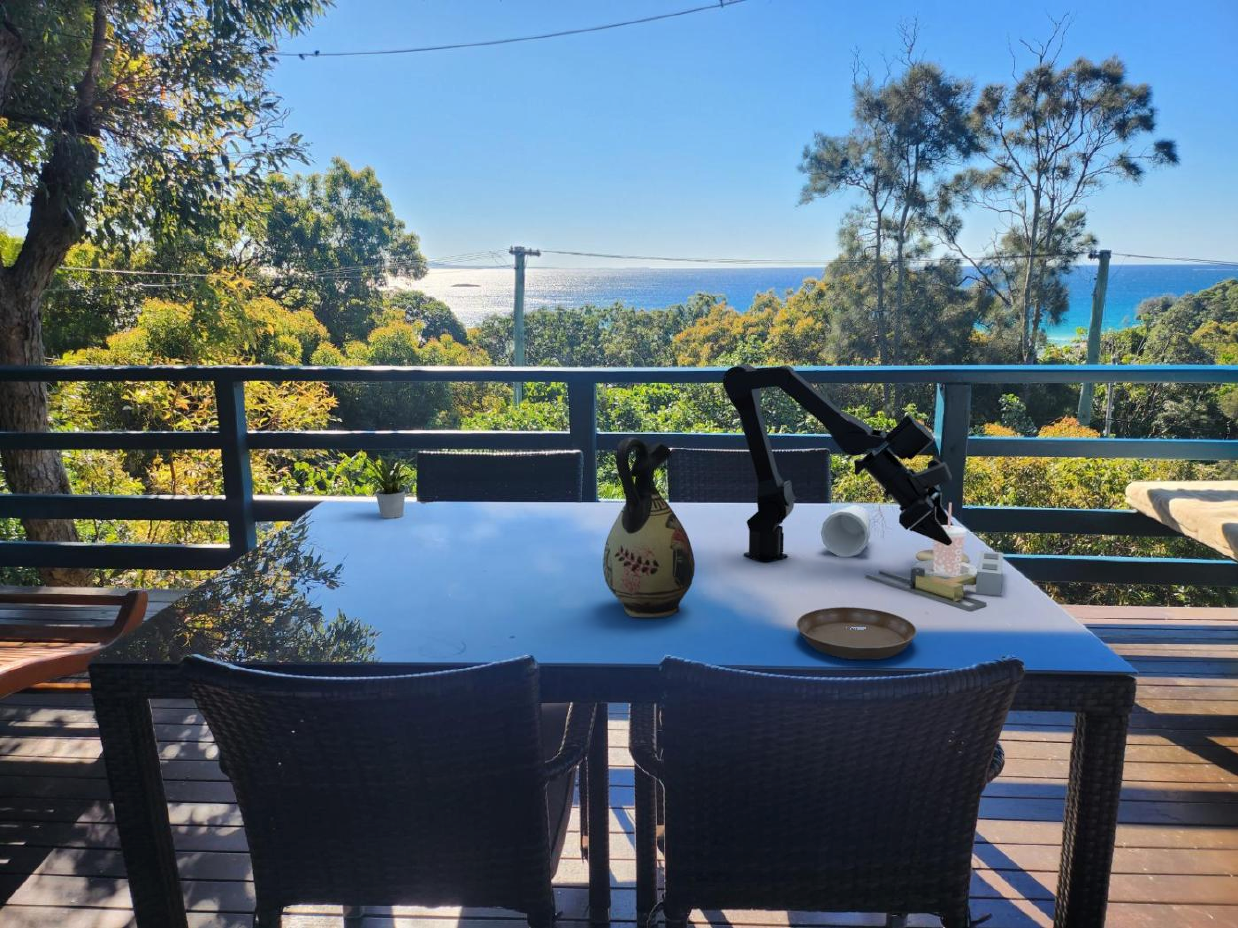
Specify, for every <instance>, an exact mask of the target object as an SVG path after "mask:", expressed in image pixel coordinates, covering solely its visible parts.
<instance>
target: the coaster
mask: <svg viewBox="0 0 1238 928" xmlns="http://www.w3.org/2000/svg"><path fill="white" fill-rule="evenodd" d="M915 556H916V557H915V558H916V559H917V560H918V561H919V562H920V561H927V560H934V551H933V549H923V550H920V551H917V552H916V554H915ZM961 562H964V563H967V564H969V562H970V557H969V556H968V555H967V554H965V553H962V561H961Z"/></svg>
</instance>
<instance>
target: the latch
mask: <svg viewBox="0 0 1238 928" xmlns="http://www.w3.org/2000/svg"><path fill="white" fill-rule="evenodd" d="M909 579H910V583H909V587H911V588H914V589H917V590H920V591H923V592H927V593H930V594H933V595H936V596H939V597H942V598H946V599H949V600H952V601H955V602H958V601H961V599H963V595H964V585H969V586H971V587H972V586H976V580H977V576H973V575H970V574H964V575H961V576H957V577H953V578H950V579H943V578H939V577H936V576H932V575H929V574H926V573H925V569H923V568H918V567H916V566H914V567H911V568H910V578H909ZM965 583H966V584H965Z"/></svg>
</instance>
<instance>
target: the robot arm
mask: <svg viewBox="0 0 1238 928" xmlns="http://www.w3.org/2000/svg"><path fill="white" fill-rule="evenodd" d="M722 386H723V388H724V390H725V393H726V395H727V397H728V399H729V401H730V402H731V404H732V405H733V407H734V408H735V410H736V411H737V413H738V415H739V418H740V422H741V426H742V430H743V433H744V437H745V441H746V444H747V448H748V451H749V454H750V455H749V457H750V459H751V463H752V466H753V470H754V473H755V477H756V481H757V482H756V483H757V484H756V485H757V486H756V505H757V511H756V512H755V513H754V514H753V515H752V516H750V517H749V519H747V520H746V525H747V528H748V551H747V552H744V553H743V556H744V557H747V558H750V559H753V560H756V561H759V562H763V563H769V562H772V561H776V560H777V561H778V560H782V559H786V558H788V554H786V553H784V532H783V531H784V530H783V527H784V526H782V523H783V522H784V520H785V519H787V517H789V515H790V514H791V513H792V512H793V509H794V506H795V500H796V499H797V497H796V496H795V495H794V492H793V488H792V487H793V485H792V481H791V480H786V481H784V480H783V478H782V477H781V476H780V474H779V472H778V467H777V465H776V464H777V463H776V460H775V457H774V453H773V450H772V446H771V442H770V438H769V434H768V430H767V427H766V424H765V420H764V417H763V416H764V415H763V413H762V409H761V389H766V388H767V389H768V388H775V387H778V388H780V389H781V390H782V391H783V392H785V393H786V395H788V396H789V397H790V398H792V399H793V401H795V402H796V403H797V404H799V405H800V406H801V407H802V408H803V409H804V410H806V411H807V412H808V413H809V414H810V415H811V416H812V417H814V418H815V419H816V420H817V422H820V423H821V425H823V426H824V428H825V429H826V430H827V431H828V433H829V434H830V436H831V438H832V440H833V441H834V442H835V443H836V444H837V446H838V447H839V448H840V450H842V451H843V453H845V454H847V456H851V457H853V456H854V457H856V456H857V457H858V456H861V455H863V454H865V453H866V452H867V451H868V450H871V451H869V452H868V453H867V454H865V456H864V457H863V458H856V459H854V460H853V464H854V472H853V475H855V476H858V475H859V474H860V473H861V472H862V471H864V470H865V471H866V472H867V473H868V474H869V475H870V476H871V477H872V478H873V479H874V480H875V481H876V483H878V485H879V486H880V487H881V488H882V489H883V490H884V491H883V494H884V495H886V497H888V496H890V497H891V498H892V499H893V501H895V502H896V504H897V505H899V508H898V509H899V510H900V514H899V518H898V523H899V524H900V526H902V527H903V529H905V530H906V531H907V530H909V531H910V532H914V533H916V534H919V535H921V536H923V537H927V538H928V539H931V540H936V541H938V542H940V543H942V544H945V545H947V546H949V545H950V544H952V540H951V538H950V537H949V535H948V534H947V533H946V531H945V530H944V528H943V527H942V525H948V513H947V512H946V510H945V509H944V506H943V504H942V496H943V492H942V491H941V487H940V486H939V485H945V484H948V483H950V482H952V479H953V476H952V473H951V471H950V469H949V465H947V462H945V461H943V462H941V461H939V460H938V458H934V459H931V460H929V461H928V462H927V468H924V469H923V470H921V471H918V472H917V471H916V470H914V468H908V467H907V466H905V465H904V463H902V462H901V460H903V461H904V460H905V459H908V460H910V461H912V460H913V459H914V458H915V457H917V456H918V455H919V454H921V452H923V450H925V449H926V448H927V447H929V445H930V444H932V443H933V442H934V441H935V440H936V439H935V437H934V436H933V434H932V433H931V432H930V430H928V428H927V427H926V426H925V425H924V424H921V423H920V422H919V421H918V420H917V419H915V418H913V416H911V415H910V414H906V415H904V416H903V418H902V419H901V420H900V422H899V423H898V424H896V426H894V427H893V428H892V429H891V430H890V431H886V430H880V429H874V428H872V427H871V425H869V424H867V423H866V422H864V421H862V420H861V419H859V418H857V417H856V416H854V415H851V414H850V413H848V412H845V411H843V410H842V409H840V408H838V407H837V406H836V405H835V404H834V403H832V402H831V401H830V400H829V399H828V398H827V397H825V396H824V395H823V394H822V393H820V391H818V389H816V388H815V387H814V386H812V385H811V384H810V383H809V382H808V381H807V380H805V379H804V378H803V377H802V376H800V374H798V373H797V372H796V371H795V369H794V368H793V367H792V366H790V365H787V364H785V365H783V364H782V365H780V366H770V367H768V366H767V367H754V366H753V365H750V364H745V363H744V364H738V365H735V366H731V367H730V368H728V369H727V370H726V371H725V373H724V375H723V377H722ZM886 442H887V444H886V445H884V446H883V447H882V448H881V449H880V450H879V451H876V450H874V449H878V448H880V447H881V446H882V445H883V444H884V443H886ZM893 453H894V454H893ZM896 456H897V457H896ZM899 459H900V460H899ZM935 494H936V495H935ZM951 526H955V525H954V524H953V522H952V521H951Z"/></svg>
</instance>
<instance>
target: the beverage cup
mask: <svg viewBox="0 0 1238 928" xmlns="http://www.w3.org/2000/svg"><path fill="white" fill-rule="evenodd" d="M952 504H953V503H952V502H948V513H947V515H948V525H942V527H943V528H944V530H945V531H946V533H947V534H948V535H949V537H950V538H951V540H952V544H950V545H949V546H947V545H945V544H942V543H940V542H938V541H936V540H933V539H932V540H933V541H932V542H933V545H932V546H933V549H932V550H933V551H934V570H933V572H935V573H941V574H951V575H957V574H961V572H960V569H961V561H962V554H963V551H964V550H963V549H964V545H965V544H964V543H965V542H964V541H965V537H966V535H967V529H966V528H964V527H962V526H959V525H958V526H957V525H954V526H951V522H952Z"/></svg>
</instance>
